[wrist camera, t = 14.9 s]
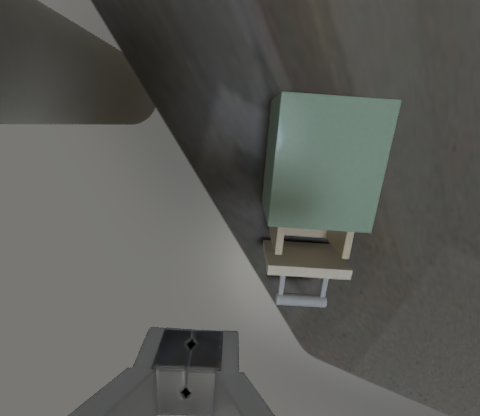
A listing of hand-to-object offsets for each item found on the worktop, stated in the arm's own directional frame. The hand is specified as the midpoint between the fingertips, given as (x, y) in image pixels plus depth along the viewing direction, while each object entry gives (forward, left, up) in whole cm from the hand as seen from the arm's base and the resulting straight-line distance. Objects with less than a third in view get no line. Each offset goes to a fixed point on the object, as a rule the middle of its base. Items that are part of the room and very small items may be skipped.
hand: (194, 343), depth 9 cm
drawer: (+10, -5, -25) cm, 27 cm away
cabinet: (+10, +4, -26) cm, 28 cm away
